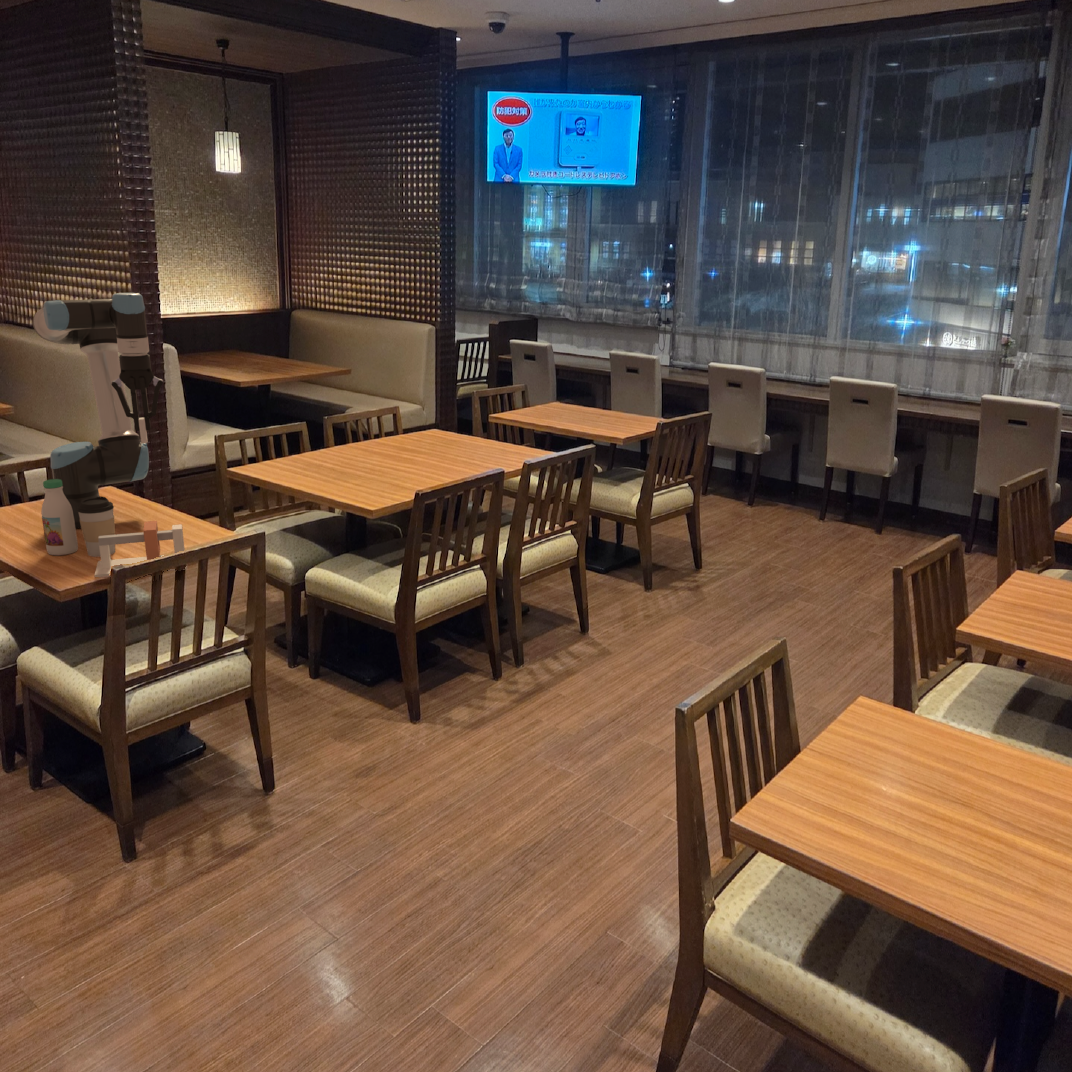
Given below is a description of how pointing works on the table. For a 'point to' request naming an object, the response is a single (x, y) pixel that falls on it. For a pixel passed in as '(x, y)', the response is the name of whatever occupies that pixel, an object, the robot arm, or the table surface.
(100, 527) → the coffee cup
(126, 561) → the rail
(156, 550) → the notched orange block
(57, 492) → the milk bottle
